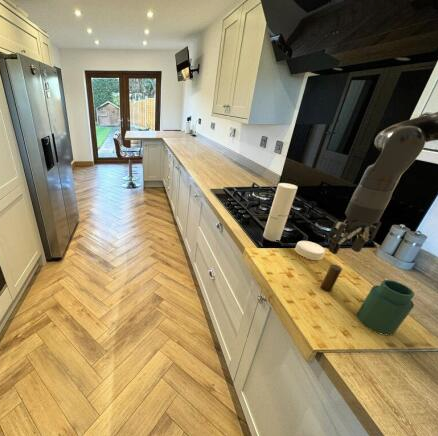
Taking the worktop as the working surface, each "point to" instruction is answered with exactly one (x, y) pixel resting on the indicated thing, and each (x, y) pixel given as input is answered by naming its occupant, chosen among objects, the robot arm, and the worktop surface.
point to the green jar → (386, 307)
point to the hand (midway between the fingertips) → (343, 251)
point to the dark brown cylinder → (330, 278)
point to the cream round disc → (310, 250)
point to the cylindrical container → (279, 211)
